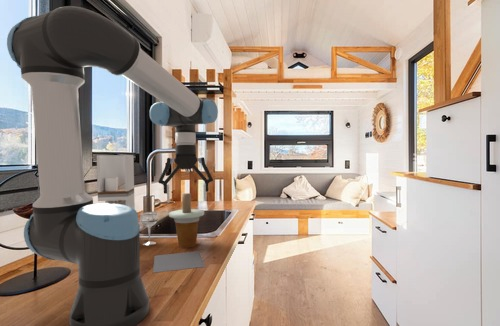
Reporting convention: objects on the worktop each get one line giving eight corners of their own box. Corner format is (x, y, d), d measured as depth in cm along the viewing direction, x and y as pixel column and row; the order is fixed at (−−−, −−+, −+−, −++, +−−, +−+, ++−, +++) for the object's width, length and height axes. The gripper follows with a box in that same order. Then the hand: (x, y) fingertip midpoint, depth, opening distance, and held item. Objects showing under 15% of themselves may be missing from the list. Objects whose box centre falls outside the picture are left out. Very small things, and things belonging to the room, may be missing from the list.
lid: (169, 219, 100) (168, 196, 100) (168, 212, 112) (168, 192, 112) (206, 217, 103) (206, 195, 103) (202, 210, 116) (201, 191, 116)
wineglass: (143, 241, 115) (142, 211, 115) (160, 241, 116) (159, 211, 115) (137, 246, 109) (136, 215, 108) (155, 246, 109) (155, 214, 109)
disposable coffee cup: (194, 251, 102) (193, 218, 102) (169, 249, 104) (169, 217, 104) (203, 243, 112) (203, 212, 111) (181, 242, 114) (180, 212, 113)
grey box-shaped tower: (108, 240, 118) (106, 155, 117) (135, 238, 120) (133, 155, 119) (99, 248, 107) (96, 155, 106) (129, 246, 109) (127, 154, 108)
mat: (152, 274, 82) (152, 272, 82) (154, 257, 97) (154, 255, 97) (205, 268, 86) (205, 266, 86) (199, 252, 101) (199, 251, 101)
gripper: (216, 145, 114) (217, 198, 115) (151, 145, 107) (152, 201, 108) (220, 144, 107) (220, 200, 107) (150, 144, 100) (151, 204, 100)
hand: (186, 201), depth 108 cm, fingers open, 13 cm apart
